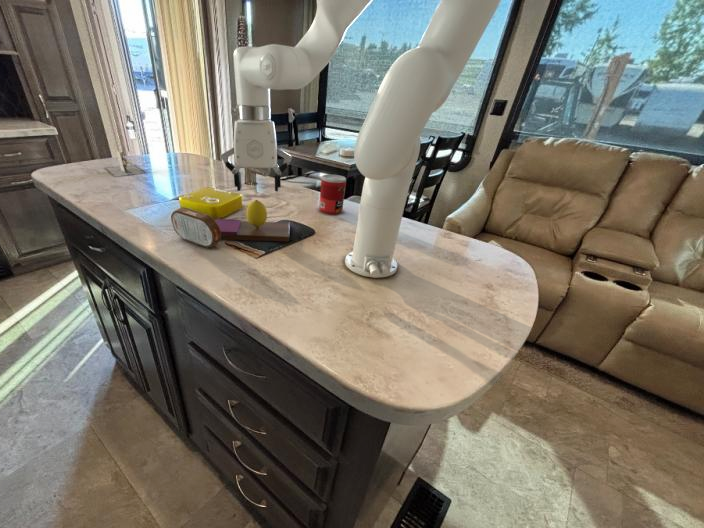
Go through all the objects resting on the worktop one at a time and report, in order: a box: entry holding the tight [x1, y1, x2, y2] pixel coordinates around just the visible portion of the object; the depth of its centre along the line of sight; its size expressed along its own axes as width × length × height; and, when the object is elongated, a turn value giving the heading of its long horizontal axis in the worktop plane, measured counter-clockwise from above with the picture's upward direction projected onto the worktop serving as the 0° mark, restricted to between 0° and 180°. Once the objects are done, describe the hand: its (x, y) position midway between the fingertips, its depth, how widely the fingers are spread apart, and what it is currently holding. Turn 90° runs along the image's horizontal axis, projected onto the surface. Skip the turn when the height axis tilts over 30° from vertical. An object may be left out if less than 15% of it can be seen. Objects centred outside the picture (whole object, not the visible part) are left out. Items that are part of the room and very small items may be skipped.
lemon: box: [246, 199, 268, 228], centre depth 89 cm, size 6×6×8 cm
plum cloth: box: [216, 218, 242, 234], centre depth 91 cm, size 9×7×1 cm
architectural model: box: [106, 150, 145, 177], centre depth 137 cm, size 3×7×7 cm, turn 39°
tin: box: [170, 207, 222, 249], centre depth 83 cm, size 15×3×8 cm, turn 59°
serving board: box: [215, 220, 290, 243], centre depth 92 cm, size 10×22×2 cm, turn 92°
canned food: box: [318, 173, 347, 216], centre depth 108 cm, size 8×8×11 cm
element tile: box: [178, 186, 243, 220], centre depth 105 cm, size 15×15×5 cm
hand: (258, 189), depth 85 cm, fingers open, 9 cm apart
